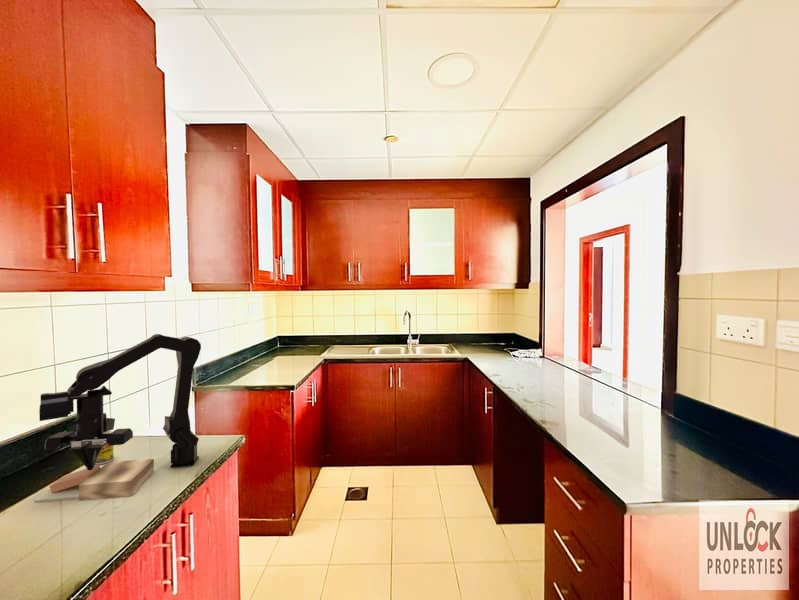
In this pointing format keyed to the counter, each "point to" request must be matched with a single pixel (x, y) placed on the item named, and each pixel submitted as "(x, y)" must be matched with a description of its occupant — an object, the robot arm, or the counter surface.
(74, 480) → the terracotta tile
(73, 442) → the robot arm
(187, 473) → the counter surface
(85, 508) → the counter surface
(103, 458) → the supplement bottle
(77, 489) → the sage mat
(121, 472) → the block
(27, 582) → the counter surface
